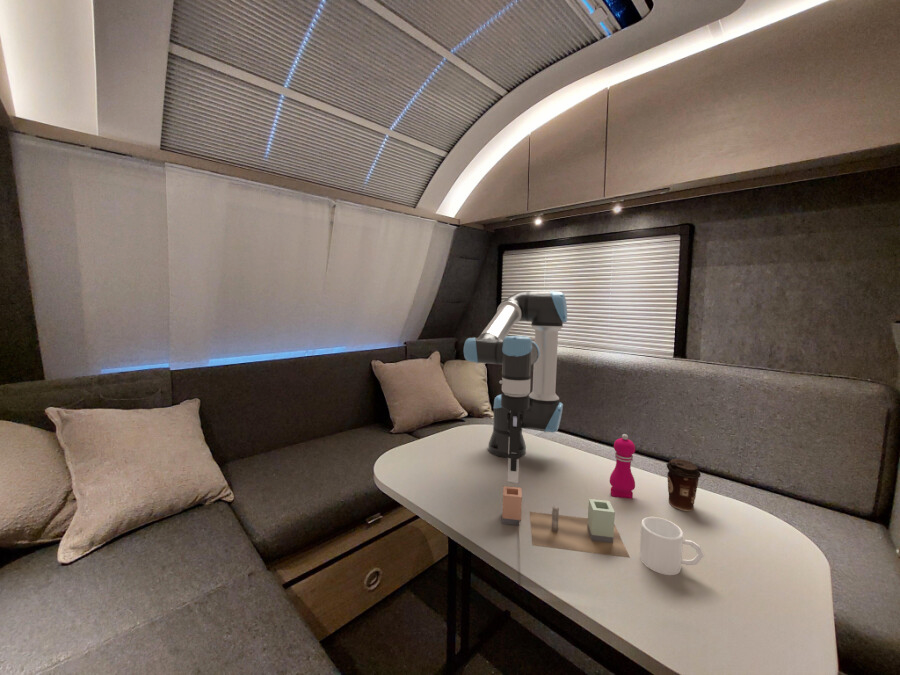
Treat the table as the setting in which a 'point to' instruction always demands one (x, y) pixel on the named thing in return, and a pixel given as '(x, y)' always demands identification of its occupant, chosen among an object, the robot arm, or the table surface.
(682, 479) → the coffee cup
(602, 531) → the sage sleeve
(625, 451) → the pepper mill
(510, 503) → the terracotta sleeve
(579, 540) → the pin board
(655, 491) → the table surface
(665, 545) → the mug
